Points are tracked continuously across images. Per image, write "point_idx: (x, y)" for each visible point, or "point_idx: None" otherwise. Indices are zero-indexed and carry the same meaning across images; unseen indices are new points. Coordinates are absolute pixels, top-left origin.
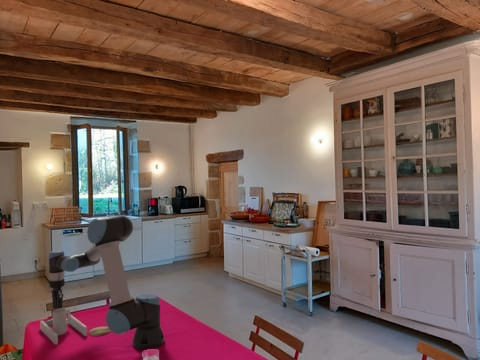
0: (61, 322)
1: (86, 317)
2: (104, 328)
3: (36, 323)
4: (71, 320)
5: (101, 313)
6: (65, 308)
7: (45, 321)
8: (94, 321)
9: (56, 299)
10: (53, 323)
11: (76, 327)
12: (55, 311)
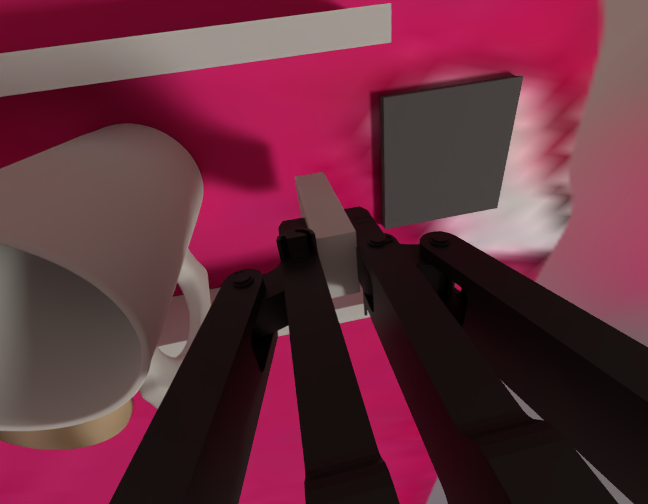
0: (3, 252)
1: (375, 352)
2: (85, 426)
3: (561, 7)
4: None
5: (380, 408)
6: (92, 417)
7: (513, 99)
8: (273, 382)
9: (308, 472)
10: (35, 154)
11: (170, 306)
12: (109, 263)
